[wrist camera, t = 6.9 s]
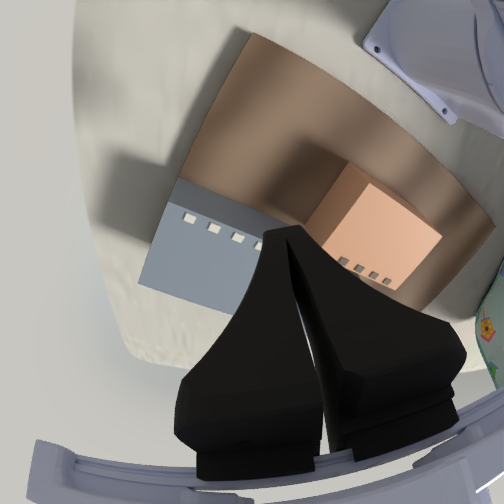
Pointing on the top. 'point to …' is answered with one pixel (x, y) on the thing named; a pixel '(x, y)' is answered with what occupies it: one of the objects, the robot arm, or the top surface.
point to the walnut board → (326, 158)
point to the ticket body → (206, 248)
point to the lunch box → (492, 329)
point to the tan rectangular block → (371, 229)
